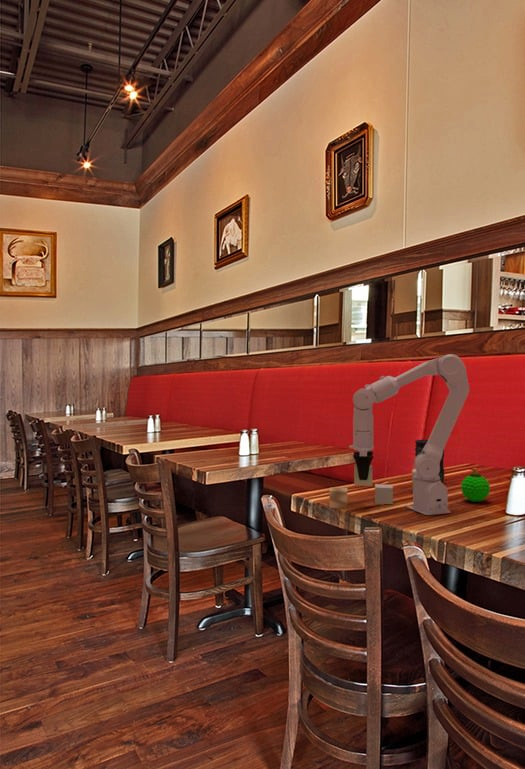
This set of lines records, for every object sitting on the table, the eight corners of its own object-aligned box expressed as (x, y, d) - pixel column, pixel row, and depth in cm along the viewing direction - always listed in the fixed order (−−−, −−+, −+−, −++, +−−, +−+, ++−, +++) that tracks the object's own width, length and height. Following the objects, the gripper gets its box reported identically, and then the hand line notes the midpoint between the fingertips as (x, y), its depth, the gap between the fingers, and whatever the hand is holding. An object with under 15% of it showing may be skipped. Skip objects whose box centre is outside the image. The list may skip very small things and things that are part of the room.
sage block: (371, 482, 158) (371, 465, 158) (372, 485, 153) (372, 468, 153) (354, 481, 159) (354, 464, 159) (354, 485, 154) (354, 467, 154)
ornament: (495, 504, 159) (495, 470, 159) (471, 505, 157) (471, 471, 157) (479, 498, 167) (479, 465, 167) (455, 499, 165) (455, 466, 165)
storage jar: (414, 485, 187) (414, 442, 187) (415, 480, 196) (415, 439, 196) (444, 487, 184) (445, 443, 184) (444, 481, 193) (444, 440, 193)
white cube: (391, 501, 164) (391, 484, 164) (392, 505, 159) (392, 488, 159) (375, 500, 164) (375, 484, 164) (375, 504, 160) (375, 487, 159)
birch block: (347, 505, 159) (347, 488, 159) (347, 509, 154) (347, 491, 154) (330, 504, 160) (330, 487, 160) (329, 508, 155) (329, 490, 155)
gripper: (349, 428, 163) (349, 473, 164) (348, 433, 149) (348, 482, 149) (373, 428, 162) (373, 473, 162) (374, 433, 148) (374, 483, 148)
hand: (363, 478), depth 156 cm, fingers closed on sage block, 5 cm apart
